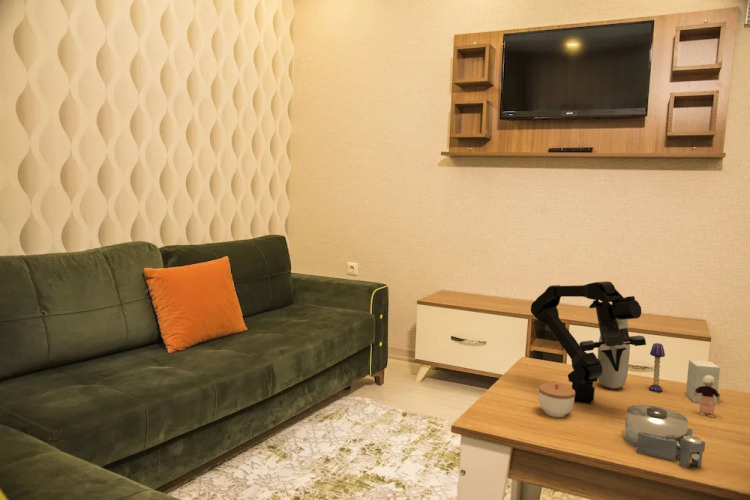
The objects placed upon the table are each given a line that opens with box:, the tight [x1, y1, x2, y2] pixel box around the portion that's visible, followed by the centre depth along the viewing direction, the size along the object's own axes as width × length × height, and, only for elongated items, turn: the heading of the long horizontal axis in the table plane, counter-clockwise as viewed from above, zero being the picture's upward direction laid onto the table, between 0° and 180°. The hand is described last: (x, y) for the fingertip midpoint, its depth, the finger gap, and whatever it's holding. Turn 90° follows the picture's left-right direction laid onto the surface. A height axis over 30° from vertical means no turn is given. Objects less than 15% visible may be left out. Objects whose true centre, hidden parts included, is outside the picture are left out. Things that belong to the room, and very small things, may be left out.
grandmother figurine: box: [693, 375, 723, 418], centre depth 173 cm, size 8×4×13 cm, turn 65°
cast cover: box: [623, 404, 689, 456], centre depth 151 cm, size 15×15×9 cm
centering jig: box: [636, 427, 706, 469], centre depth 142 cm, size 12×17×7 cm
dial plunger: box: [676, 441, 700, 461], centre depth 140 cm, size 7×2×2 cm, turn 14°
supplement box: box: [685, 359, 721, 405], centre depth 186 cm, size 7×7×13 cm
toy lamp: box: [648, 342, 666, 393], centre depth 194 cm, size 5×5×17 cm
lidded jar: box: [538, 382, 575, 418], centre depth 170 cm, size 11×11×9 cm
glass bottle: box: [597, 319, 631, 390], centre depth 195 cm, size 10×10×28 cm
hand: (616, 371), depth 172 cm, fingers closed
